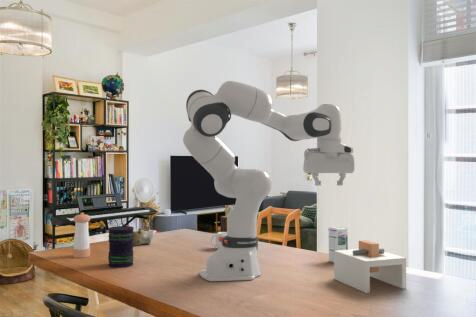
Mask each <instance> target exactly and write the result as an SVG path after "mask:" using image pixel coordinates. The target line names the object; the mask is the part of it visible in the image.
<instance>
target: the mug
mask: <svg viewBox="0 0 476 317" xmlns="http://www.w3.org/2000/svg"><path fill="white" fill-rule="evenodd" d="M226 235H227V231H219V232H217V233H216V234H213V235H212V236H211V238H210V243H211V245H212V246H213V247H216V248H217V250H218V249H219V248H220V247H221V246H222V242H220V241H219V236H222V237H225V236H226ZM214 237H215V244H214V243H213V240H214Z"/></svg>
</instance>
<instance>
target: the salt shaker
mask: <svg viewBox="0 0 476 317" xmlns="http://www.w3.org/2000/svg"><path fill="white" fill-rule="evenodd" d="M73 221H74V223H75V231H74V235H73V236H74V237H73V248H72V258H75V259H77V258H78V259H79V258H80V259H81V258H89V257H90V256H91V247H90V242H91V240H90V239H91V238H90V232H89V222H90V221H91V216H90V215H89V214H85V212H80V213H79V214H76V215H74V217H73Z"/></svg>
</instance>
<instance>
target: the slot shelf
mask: <svg viewBox="0 0 476 317" xmlns="http://www.w3.org/2000/svg"><path fill="white" fill-rule="evenodd" d="M365 254H368V257H366V256H362V255H365ZM378 266H379V272H373V273H371V272H370V267H378ZM370 277H371V278H374V279H376V280H379V281H382V282H383V283H387V284H389V285H392V286H394V287H396V288H400V289H404V290H405V289H407V257H405V256H401V255H397V254H393V253H390V252H386V251H385V248H383V247H382V248H379V257H373V258H369V251H367V250H359V248H353V249H348V250H337V251H334V263H333V279H334V280H336V281H338V282H341V283H343V284H345V285H346V286H349V287H352V288H353V289H356V290H359V291H360V292H362V293H365V294H367V293H368V294H369V293H371V284H370V283H371V278H370Z"/></svg>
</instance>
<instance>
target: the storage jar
mask: <svg viewBox="0 0 476 317" xmlns="http://www.w3.org/2000/svg"><path fill="white" fill-rule="evenodd" d="M134 230H135V227H133V226H126V225H125V226H124V225H123V226H121V225H120V226H118V225H117V226H111V227H108V231H109V232H108V243H109V244H108V246H109V248H108V249H109V251H108V256H107V258H108V259H107V260H108V267H109V268H113V269H122V268H130V267H133V266H134V245H133V241H134V234H133V233H134Z"/></svg>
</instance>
